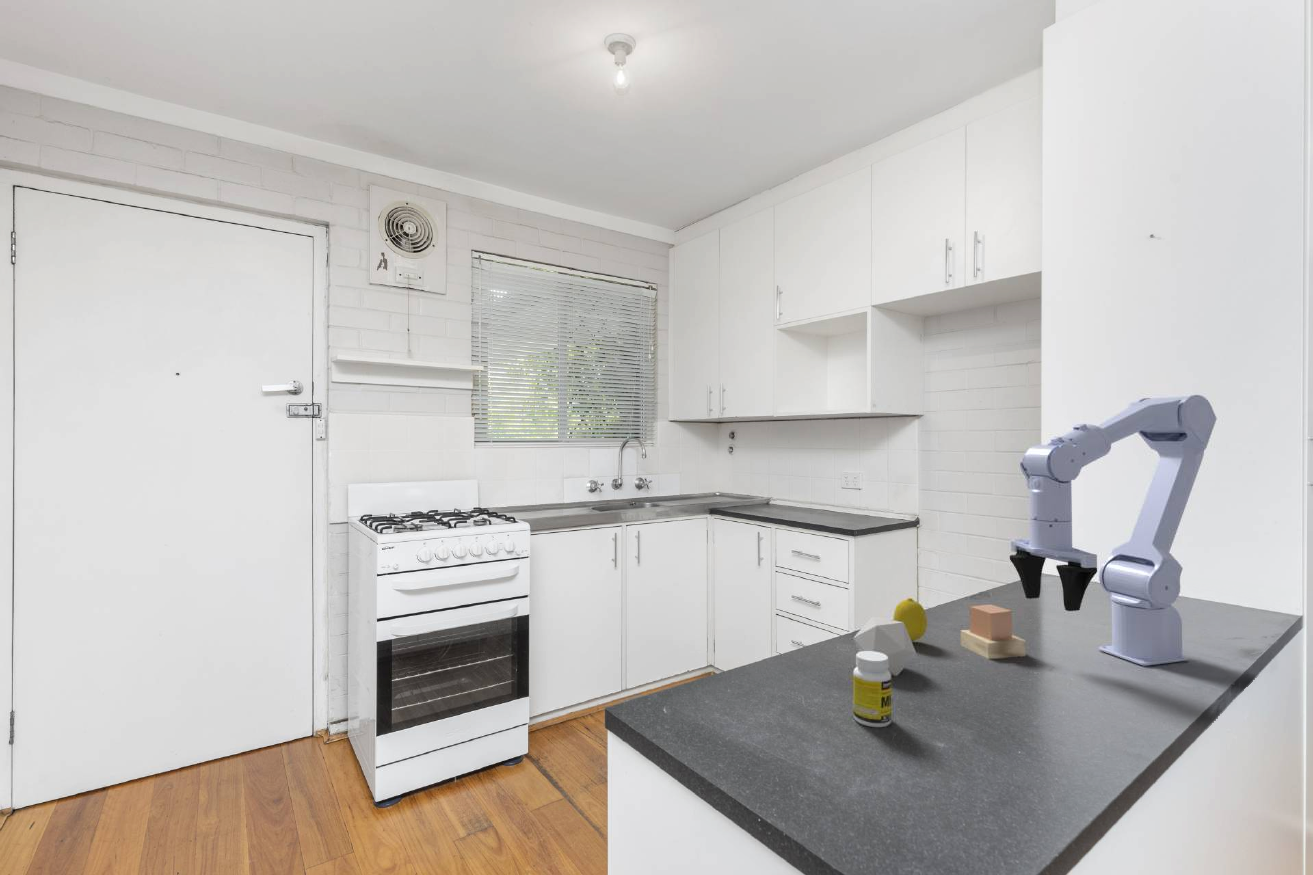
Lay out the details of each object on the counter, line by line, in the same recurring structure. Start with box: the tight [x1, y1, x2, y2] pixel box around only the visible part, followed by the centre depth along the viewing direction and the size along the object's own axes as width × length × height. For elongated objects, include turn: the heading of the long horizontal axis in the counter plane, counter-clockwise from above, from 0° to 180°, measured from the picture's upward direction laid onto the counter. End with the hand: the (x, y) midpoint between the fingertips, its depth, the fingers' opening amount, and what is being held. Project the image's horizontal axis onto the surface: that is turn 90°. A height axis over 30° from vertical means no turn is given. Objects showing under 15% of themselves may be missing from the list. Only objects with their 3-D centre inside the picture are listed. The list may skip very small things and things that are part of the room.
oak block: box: [960, 629, 1027, 660], centre depth 107 cm, size 7×7×3 cm
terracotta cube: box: [969, 603, 1013, 640], centre depth 108 cm, size 4×4×4 cm
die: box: [853, 616, 917, 677], centre depth 99 cm, size 8×9×10 cm
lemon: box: [893, 597, 928, 643], centre depth 112 cm, size 6×6×8 cm
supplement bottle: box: [852, 651, 892, 728], centre depth 81 cm, size 5×5×8 cm
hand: (1051, 603), depth 100 cm, fingers open, 7 cm apart
